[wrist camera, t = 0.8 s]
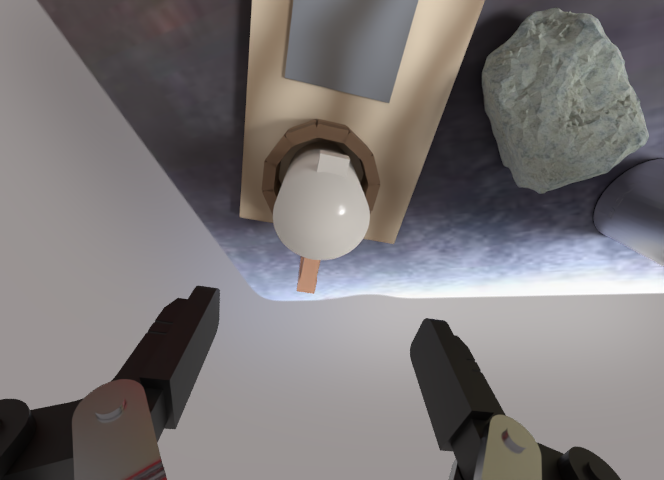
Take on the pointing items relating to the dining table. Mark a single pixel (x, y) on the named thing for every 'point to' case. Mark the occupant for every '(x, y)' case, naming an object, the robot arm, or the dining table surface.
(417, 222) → the dining table surface
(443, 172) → the dining table surface
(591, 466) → the robot arm
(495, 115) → the decorative stone
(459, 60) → the serving board
